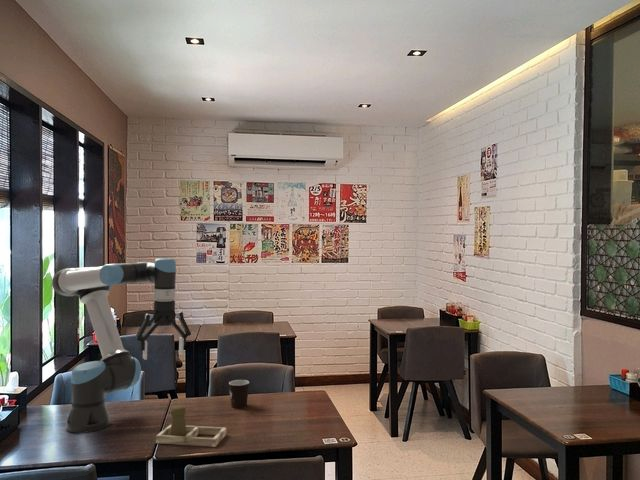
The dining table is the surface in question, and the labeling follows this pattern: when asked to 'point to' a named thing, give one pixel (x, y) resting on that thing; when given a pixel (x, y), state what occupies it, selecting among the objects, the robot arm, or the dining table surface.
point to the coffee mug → (239, 393)
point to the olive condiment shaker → (178, 421)
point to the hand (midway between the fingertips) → (163, 356)
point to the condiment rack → (193, 436)
